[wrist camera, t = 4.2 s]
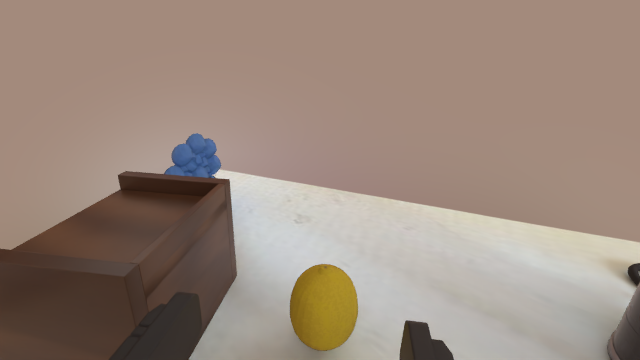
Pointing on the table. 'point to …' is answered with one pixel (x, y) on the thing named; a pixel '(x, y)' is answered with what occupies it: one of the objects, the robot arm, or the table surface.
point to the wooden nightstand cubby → (117, 267)
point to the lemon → (323, 307)
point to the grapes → (195, 158)
